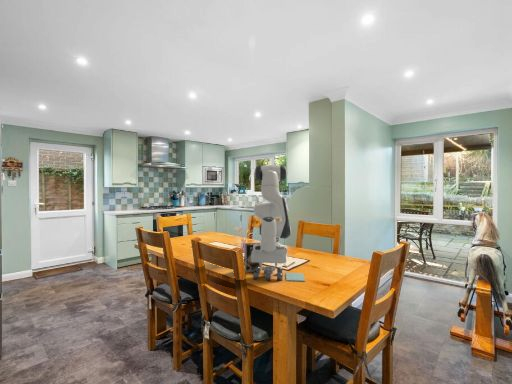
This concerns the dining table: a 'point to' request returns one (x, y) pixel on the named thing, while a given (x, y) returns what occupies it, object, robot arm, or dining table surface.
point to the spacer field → (268, 274)
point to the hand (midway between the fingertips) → (268, 270)
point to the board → (295, 277)
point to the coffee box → (249, 258)
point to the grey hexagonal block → (268, 270)
